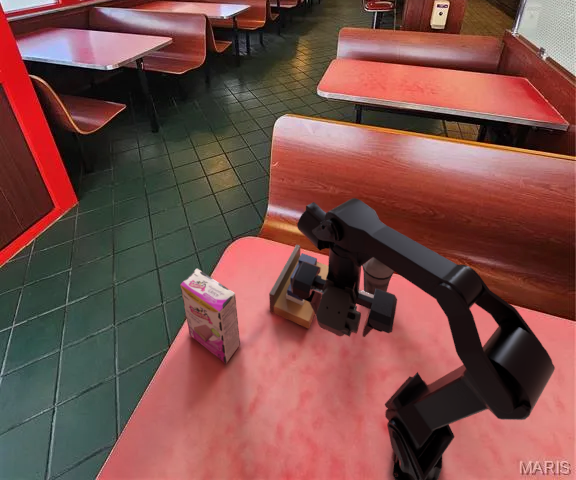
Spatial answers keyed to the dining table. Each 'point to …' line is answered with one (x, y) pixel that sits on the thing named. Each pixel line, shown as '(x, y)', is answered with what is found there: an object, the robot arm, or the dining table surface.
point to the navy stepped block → (302, 259)
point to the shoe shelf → (278, 293)
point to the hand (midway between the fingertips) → (340, 324)
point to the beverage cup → (376, 276)
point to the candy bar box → (211, 314)
